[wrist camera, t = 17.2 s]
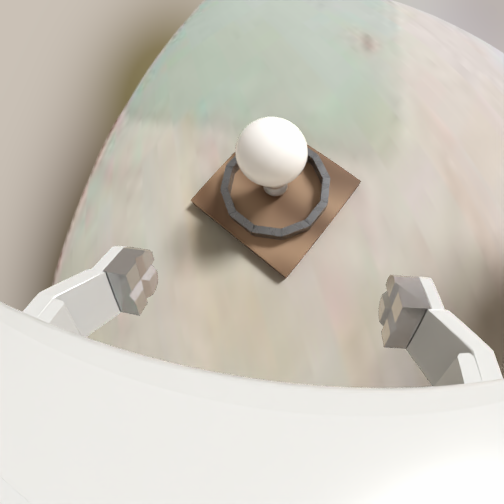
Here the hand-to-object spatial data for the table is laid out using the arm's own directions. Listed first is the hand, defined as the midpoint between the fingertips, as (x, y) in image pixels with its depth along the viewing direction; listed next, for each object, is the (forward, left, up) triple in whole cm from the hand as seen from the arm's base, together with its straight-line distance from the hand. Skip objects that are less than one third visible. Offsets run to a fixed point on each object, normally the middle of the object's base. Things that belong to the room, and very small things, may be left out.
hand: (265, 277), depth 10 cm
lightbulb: (-9, -8, -21) cm, 24 cm away
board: (-9, -8, -22) cm, 25 cm away
